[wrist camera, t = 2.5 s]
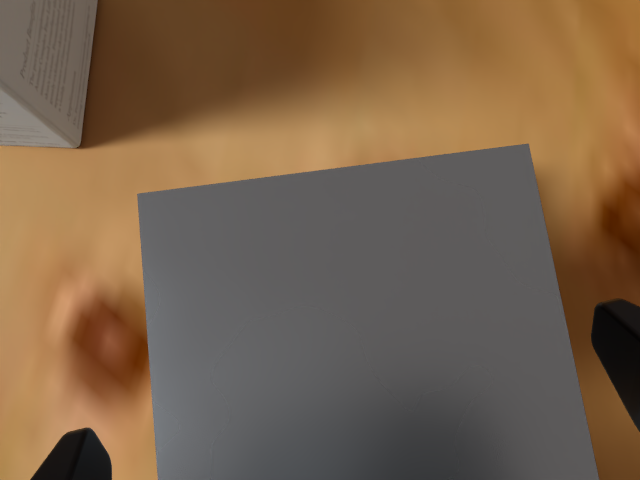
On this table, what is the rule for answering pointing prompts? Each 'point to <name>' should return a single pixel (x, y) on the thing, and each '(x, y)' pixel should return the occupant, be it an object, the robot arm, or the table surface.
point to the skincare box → (44, 70)
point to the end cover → (362, 326)
